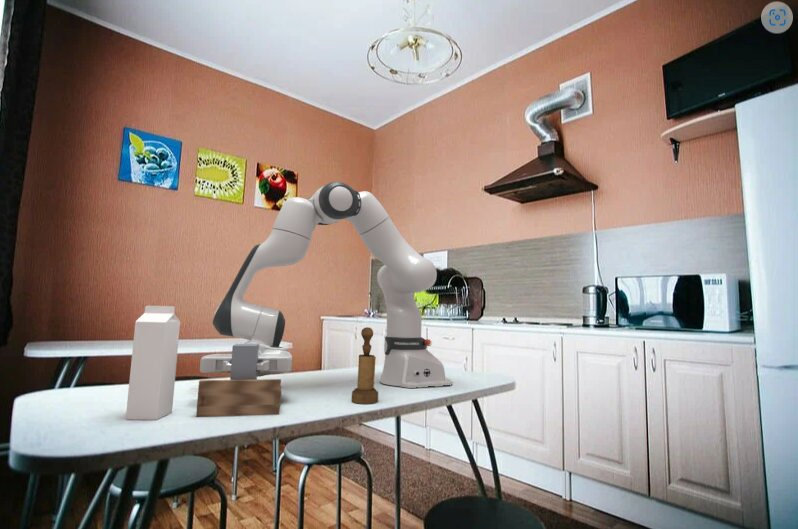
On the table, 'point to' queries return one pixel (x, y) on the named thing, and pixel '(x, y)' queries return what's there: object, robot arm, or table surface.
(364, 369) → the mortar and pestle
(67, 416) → the table surface
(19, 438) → the table surface
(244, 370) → the grey block
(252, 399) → the brown wooden block
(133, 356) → the milk
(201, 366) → the robot arm
